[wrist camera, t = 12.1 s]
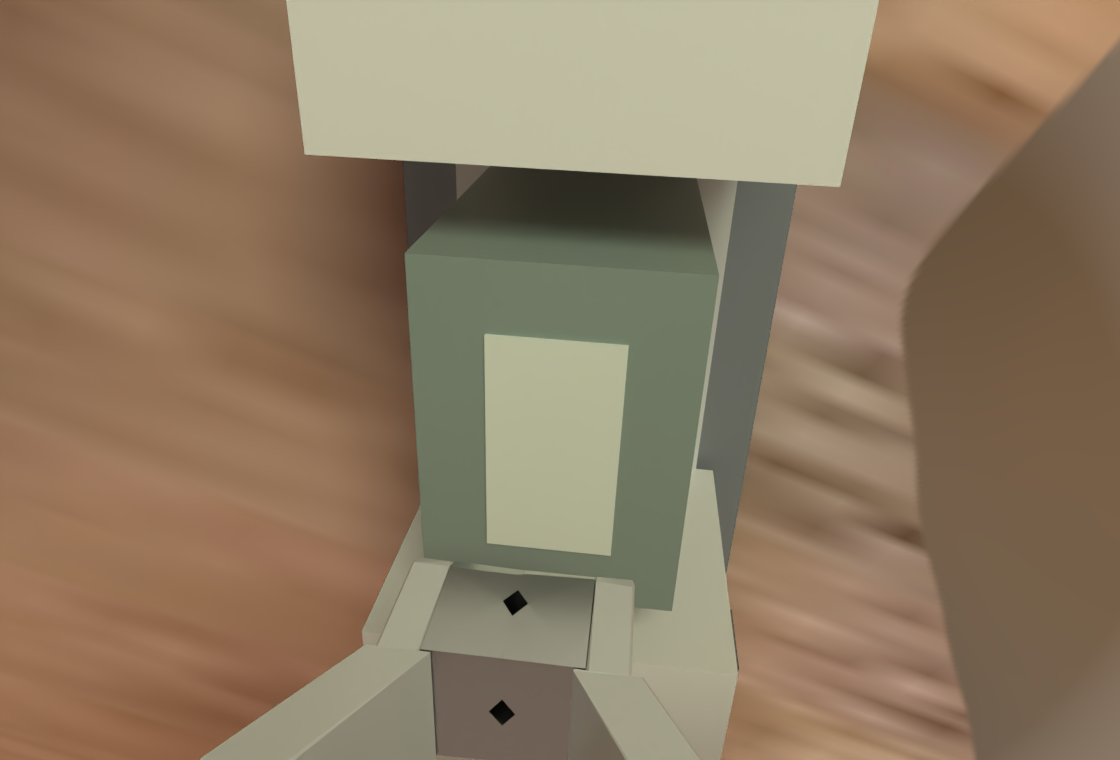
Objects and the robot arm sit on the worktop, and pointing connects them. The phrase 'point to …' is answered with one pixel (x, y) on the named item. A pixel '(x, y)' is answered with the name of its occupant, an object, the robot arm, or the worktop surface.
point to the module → (562, 372)
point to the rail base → (625, 148)
